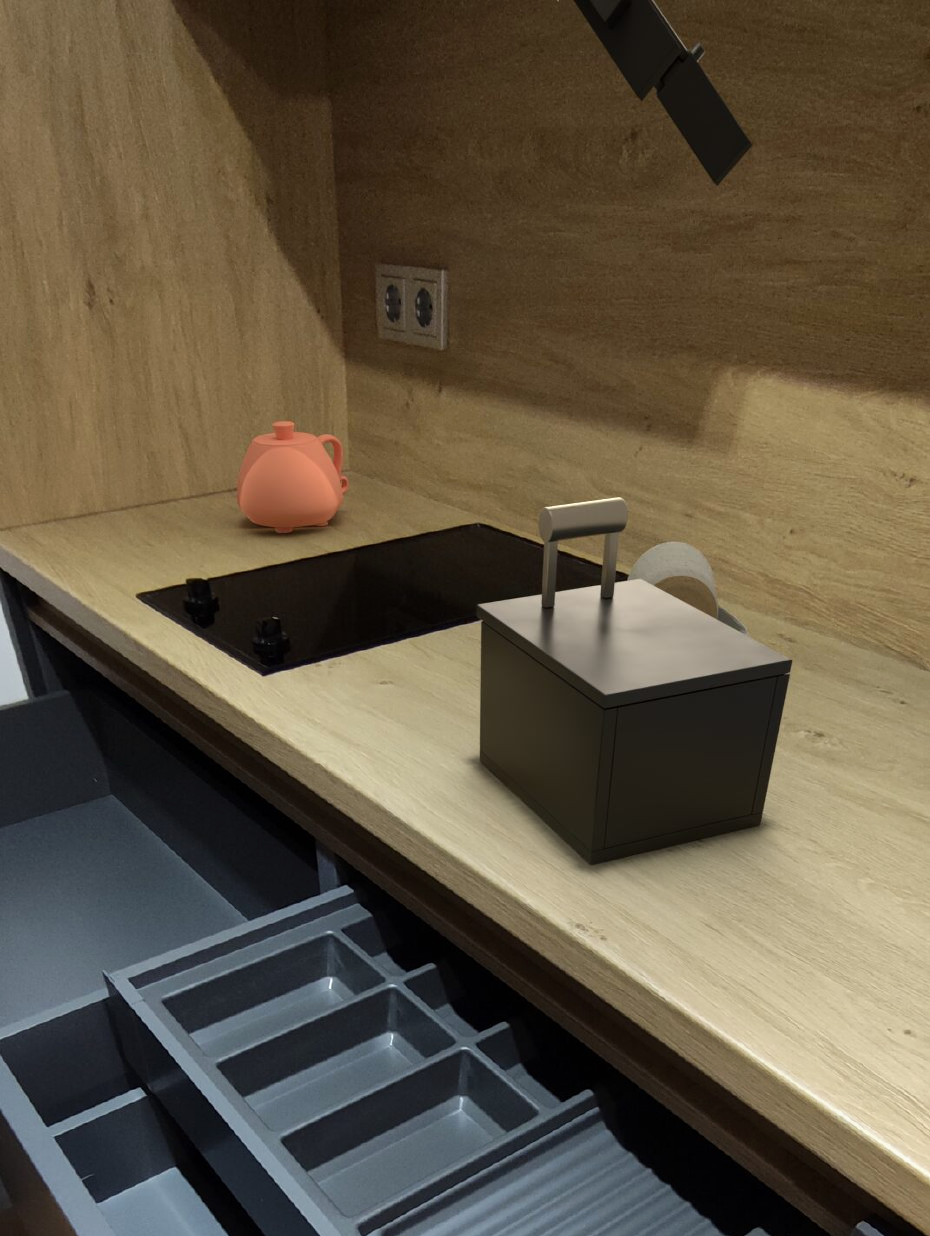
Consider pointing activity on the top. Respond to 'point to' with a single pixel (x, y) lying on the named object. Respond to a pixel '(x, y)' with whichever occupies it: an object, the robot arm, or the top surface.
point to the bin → (626, 755)
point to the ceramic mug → (684, 579)
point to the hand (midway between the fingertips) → (699, 122)
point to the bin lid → (622, 625)
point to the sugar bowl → (291, 479)
